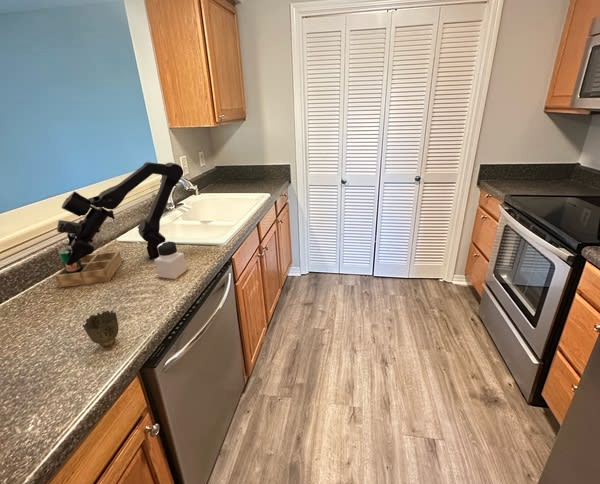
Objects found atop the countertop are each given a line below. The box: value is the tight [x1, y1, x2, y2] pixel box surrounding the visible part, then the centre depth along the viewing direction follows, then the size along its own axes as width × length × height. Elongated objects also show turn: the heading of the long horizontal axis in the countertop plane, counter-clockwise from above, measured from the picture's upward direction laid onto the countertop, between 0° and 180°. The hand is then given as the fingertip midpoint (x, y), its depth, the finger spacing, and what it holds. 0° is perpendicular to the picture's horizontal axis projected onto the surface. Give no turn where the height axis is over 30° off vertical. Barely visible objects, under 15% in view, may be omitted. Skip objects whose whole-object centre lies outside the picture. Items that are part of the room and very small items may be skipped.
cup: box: [82, 309, 119, 348], centre depth 83 cm, size 8×7×8 cm
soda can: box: [58, 245, 83, 274], centre depth 114 cm, size 5×5×12 cm
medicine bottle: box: [154, 241, 188, 280], centre depth 115 cm, size 7×7×12 cm
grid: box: [54, 250, 123, 288], centre depth 120 cm, size 16×16×4 cm
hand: (66, 260), depth 113 cm, fingers open, 9 cm apart
